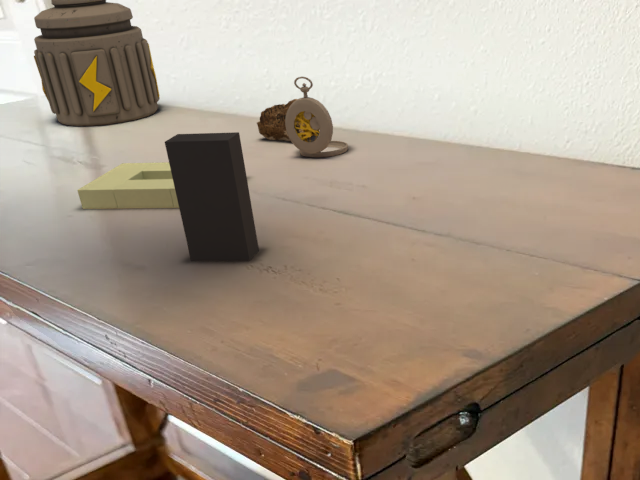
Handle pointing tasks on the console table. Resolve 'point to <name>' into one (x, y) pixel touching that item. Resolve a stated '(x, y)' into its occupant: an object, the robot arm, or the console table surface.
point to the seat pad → (131, 188)
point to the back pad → (213, 196)
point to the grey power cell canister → (94, 63)
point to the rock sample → (275, 122)
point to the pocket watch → (311, 126)
